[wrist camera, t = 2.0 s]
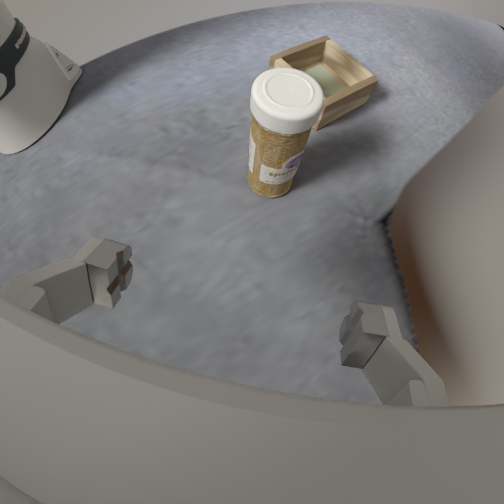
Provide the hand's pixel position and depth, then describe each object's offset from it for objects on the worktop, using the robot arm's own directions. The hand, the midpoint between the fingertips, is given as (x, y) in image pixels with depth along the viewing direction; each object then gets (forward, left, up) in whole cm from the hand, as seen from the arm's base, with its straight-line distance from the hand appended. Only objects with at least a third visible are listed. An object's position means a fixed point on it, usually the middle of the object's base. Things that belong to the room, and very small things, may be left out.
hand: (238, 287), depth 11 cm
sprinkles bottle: (-8, +9, -17) cm, 21 cm away
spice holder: (-14, +21, -17) cm, 31 cm away
